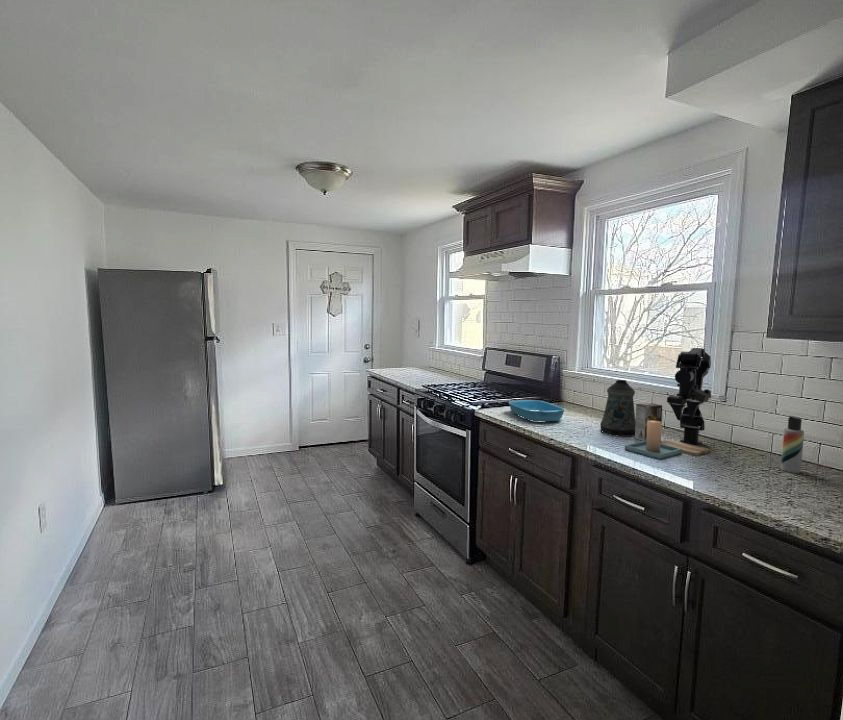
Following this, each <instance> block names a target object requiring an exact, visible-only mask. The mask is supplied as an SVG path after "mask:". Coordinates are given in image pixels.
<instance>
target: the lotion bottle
mask: <svg viewBox="0 0 843 720" xmlns="http://www.w3.org/2000/svg"><path fill="white" fill-rule="evenodd" d="M802 421H803V419H802V418H801V417H798V416H795V415H790V416H789V417H788V419H787V428H784V430H783V437H782V438H783V439H782V440H783V441H782V450H781V452H782V454H781V465H780V469H781V471H783V470H784V471H783V472H786V471H787V473H791V474H800V473H801V471H802V463H803V462H802V461H803V451H804V438H805V431H804V430H802Z"/></svg>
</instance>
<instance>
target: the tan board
mask: <svg viewBox="0 0 843 720" xmlns="http://www.w3.org/2000/svg"><path fill="white" fill-rule="evenodd" d="M660 444H663V445H667V446H672V447H676V448H680V449H682V452H681V454H687V455H691V456H694V457H698V456H701V455H705V453H706V454H708V452H709V453H711V452H712V449H711V448H709V447H708V448H707V447H701V446H698V445H696V444H690V443H686V442H681V441H677V440H672V439H669V440H664V441H661V442H660Z"/></svg>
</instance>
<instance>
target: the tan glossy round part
mask: <svg viewBox="0 0 843 720" xmlns="http://www.w3.org/2000/svg"><path fill="white" fill-rule="evenodd" d="M662 423H663V421H662V422H660V421H654V420H649V421H647V439H646V450H647V451H650V452H660V442H662V441H661V440H662Z"/></svg>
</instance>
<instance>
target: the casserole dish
mask: <svg viewBox="0 0 843 720" xmlns="http://www.w3.org/2000/svg"><path fill="white" fill-rule="evenodd" d="M508 405H509V408H510V411H511V413H512V412H513V413H515V414H517V415H519V416H522V417H524V418H526V419H529V420H533V421H557V422H559V421H560V420H562V417H563V416H564V412H565V408H564V407H561V406H559V405H556V404H554V403H553V404H552V403H550V402H547V401H544V400H538V399H537V400H536V399H535V400H533V399H520V400H519V399H517V400H511V401H509V402H508ZM530 410H539V411H530ZM513 413H512V414H513ZM515 414H514V415H515ZM517 415H516V416H517ZM519 416H518V417H519ZM558 420H559V421H558Z"/></svg>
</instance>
